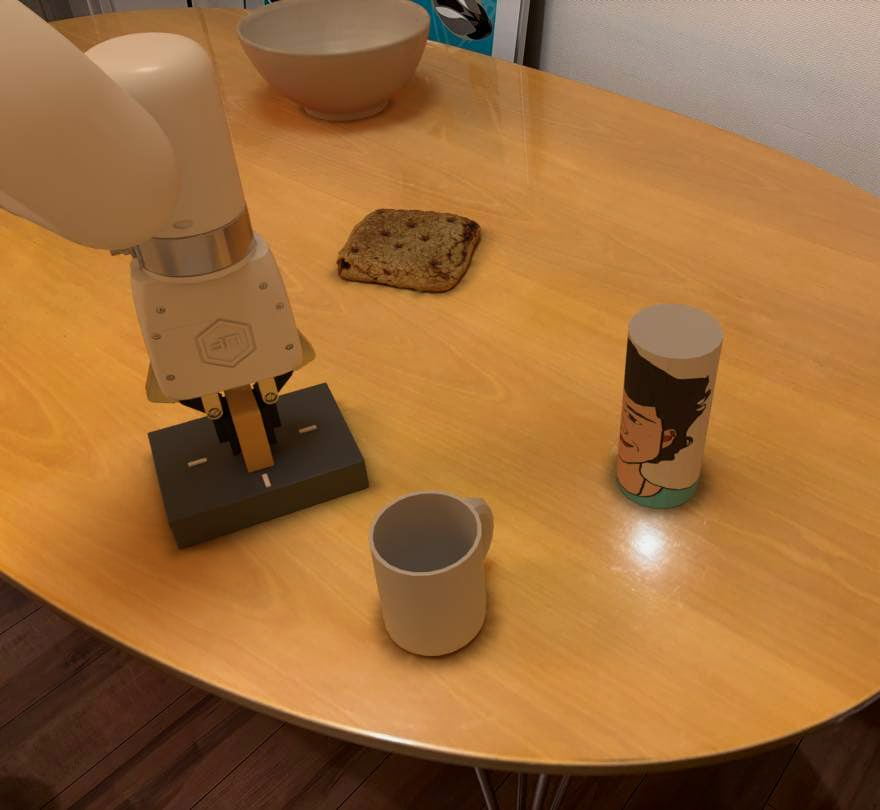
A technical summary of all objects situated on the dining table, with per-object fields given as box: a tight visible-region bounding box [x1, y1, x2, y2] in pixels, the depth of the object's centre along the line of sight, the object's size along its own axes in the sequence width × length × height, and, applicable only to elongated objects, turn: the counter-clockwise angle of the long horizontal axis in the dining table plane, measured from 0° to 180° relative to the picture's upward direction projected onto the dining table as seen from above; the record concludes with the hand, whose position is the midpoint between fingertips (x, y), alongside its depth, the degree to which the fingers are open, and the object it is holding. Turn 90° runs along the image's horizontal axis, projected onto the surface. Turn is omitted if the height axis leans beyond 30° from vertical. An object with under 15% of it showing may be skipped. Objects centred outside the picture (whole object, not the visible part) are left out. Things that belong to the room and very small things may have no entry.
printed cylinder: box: [615, 302, 724, 510], centre depth 68 cm, size 7×7×15 cm
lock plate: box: [147, 381, 370, 550], centre depth 72 cm, size 15×11×3 cm
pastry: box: [335, 208, 482, 294], centre depth 98 cm, size 17×17×3 cm
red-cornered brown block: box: [223, 384, 274, 473], centre depth 69 cm, size 6×2×6 cm, turn 25°
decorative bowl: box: [235, 0, 431, 122], centre depth 128 cm, size 27×27×12 cm
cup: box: [368, 490, 495, 657], centre depth 60 cm, size 7×10×9 cm
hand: (251, 437), depth 70 cm, fingers closed on red-cornered brown block, 2 cm apart
